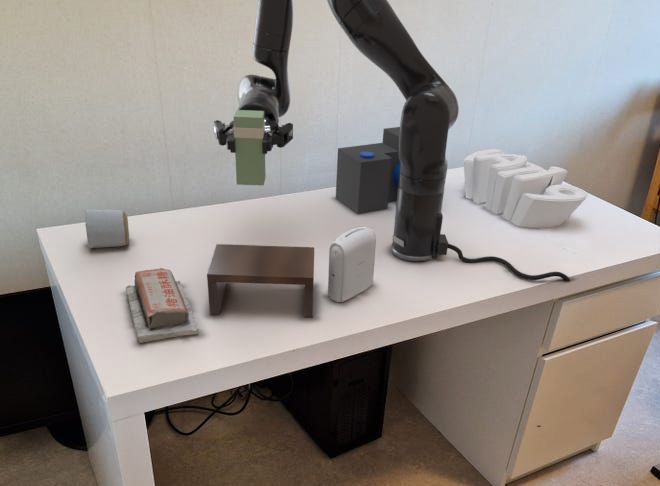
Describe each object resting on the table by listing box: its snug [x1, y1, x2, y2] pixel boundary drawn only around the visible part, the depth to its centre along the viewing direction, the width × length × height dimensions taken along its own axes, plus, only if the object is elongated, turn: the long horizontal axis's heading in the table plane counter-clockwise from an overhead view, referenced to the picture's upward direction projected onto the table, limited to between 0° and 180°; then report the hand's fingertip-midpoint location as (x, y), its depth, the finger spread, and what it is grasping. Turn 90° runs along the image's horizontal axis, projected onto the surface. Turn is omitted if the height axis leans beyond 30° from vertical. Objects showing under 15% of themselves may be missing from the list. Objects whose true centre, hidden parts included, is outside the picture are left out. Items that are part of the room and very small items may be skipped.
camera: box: [335, 126, 400, 215], centre depth 159 cm, size 25×16×16 cm, turn 119°
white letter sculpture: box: [463, 148, 589, 229], centre depth 162 cm, size 35×16×11 cm, turn 26°
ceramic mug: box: [84, 209, 130, 249], centre depth 136 cm, size 11×8×8 cm
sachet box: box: [233, 109, 267, 186], centre depth 108 cm, size 5×4×11 cm
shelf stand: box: [206, 243, 315, 319], centre depth 119 cm, size 18×12×8 cm, turn 91°
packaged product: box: [125, 267, 199, 344], centre depth 115 cm, size 18×5×10 cm
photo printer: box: [327, 226, 377, 303], centre depth 122 cm, size 10×4×12 cm, turn 140°
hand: (248, 147), depth 106 cm, fingers closed on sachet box, 4 cm apart
